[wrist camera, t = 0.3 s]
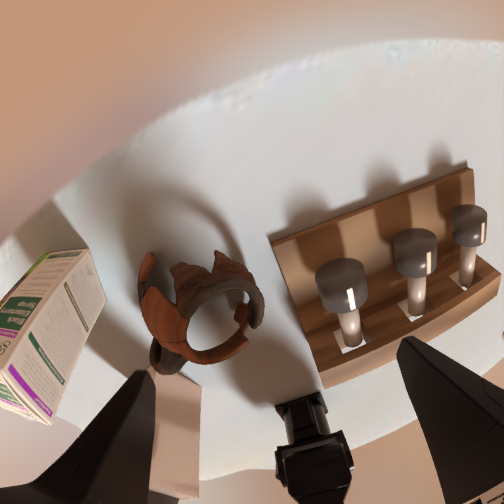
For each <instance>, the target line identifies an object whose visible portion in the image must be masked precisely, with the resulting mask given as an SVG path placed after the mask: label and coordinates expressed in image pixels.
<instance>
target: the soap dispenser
mask: <svg viewBox="0 0 504 504" xmlns="http://www.w3.org/2000/svg"><path fill="white" fill-rule="evenodd" d="M146 370H147V371H148V372H149V373H150V375H151V377H152V379H153V381H154V383H155V386H156V411H155V434H154V442H153V451H152V460H151V471H150V483H149V497H148V504H178V501H179V500H180V499H189V498H198V497H199V442H200V413H201V392H202V387H201V386H199V385H197V384H195V383H194V382H192V381H190V380H189V379H187V378H185V377H184V376H182V375H180V374H179V373H175V374H174V375H160V374H158V373H157V372H156V371H155V370H154V369H153V367H152V366H150V367H149V368H147V369H146Z"/></svg>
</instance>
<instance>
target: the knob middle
mask: <svg viewBox="0 0 504 504" xmlns="http://www.w3.org/2000/svg"><path fill="white" fill-rule="evenodd" d="M393 244H394V253H395V263H396V269H397V271H398V272H399V273H400V274H401V275H403V276H405V277H407V285H408V313H409V314H410V315H412V316H420V315H422V314H423V313H424V311H425V296H426V276H428V275H430V274H431V273H432V272H433V271H434V270H435V269H436V266H437V238H436V235H435V234H434V233H433V232H431V231H430V230H427V229H424V228H410V229H406V230H403V231H401V232H400V233H398V234H397V235H396V236H395V237H394V240H393Z"/></svg>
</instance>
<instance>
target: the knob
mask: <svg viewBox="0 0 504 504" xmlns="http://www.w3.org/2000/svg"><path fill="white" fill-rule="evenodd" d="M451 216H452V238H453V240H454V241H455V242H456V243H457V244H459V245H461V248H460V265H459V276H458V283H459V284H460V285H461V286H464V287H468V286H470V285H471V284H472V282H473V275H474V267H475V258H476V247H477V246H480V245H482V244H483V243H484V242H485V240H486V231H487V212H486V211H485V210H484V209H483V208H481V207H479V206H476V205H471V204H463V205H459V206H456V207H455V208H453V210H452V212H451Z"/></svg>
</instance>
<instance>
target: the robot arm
mask: <svg viewBox="0 0 504 504" xmlns="http://www.w3.org/2000/svg"><path fill="white" fill-rule="evenodd" d="M396 358H397V361H398V364H399V367H400V370H401V374H402V377H403V380H404V383H405V387H406V390H407V392H408V395H409V397H410V400H411V402H412V405H413V407H414V410H415V412H416V415H417V417H418V420H419V422H420V425H421V428H422V430H423V433H424V436H425V438H426V441H427V444H428V447H429V449H430V453H431V456H432V459H433V462H434V465H435V468H436V471H437V475H438V478H439V481H440V485H441V488H442V492H443V496H444V499H445V503H446V504H463V503H465V502H467V501H469V500H471V499H473V498H475V497H477V496H479V497H478V498H477V499H475V500H474V501H473V502H471V503H470V504H504V389H502V388H500V387H498V386H496V385H494V384H492V383H491V382H489V381H487V380H486V379H484V378H482V377H481V376H479V375H477V374H476V373H474V372H472V371H471V370H469V369H468V368H466V367H464V366H463V365H461V364H459V363H458V362H456V361H454V360H453V359H451V358H449V357H448V356H446V355H444V354H443V353H441V352H439V351H438V350H436V349H434V348H433V347H431V346H429V345H428V344H426V343H424V342H423V341H421V340H419V339H418V338H416V337H414V336H407V337H404V338H403V339H402V340H401V342H400V345H399V348H398V350H397V353H396ZM275 409H276V411H277V413H278V414H279V415H280V417H281V418H282V419H283V421H284V422H285V427H286V432H287V438H288V443H289V445H285V446H277V450H276V451H275V458H276V479H278V480H280V481H281V483H282V485H283V487H288V493H289V494H290V495H291V497H292V498H293V499H294V500H295V501H296V502H297V503H298V504H344V501H345V499H346V496H347V494H348V491H349V488H350V485H351V479H352V475H351V472H350V471H352V470H354V463H353V459H352V456H351V452H350V449H349V447H348V444H347V442H346V439H345V436H344V434H343V431H342V430H340V431H338V432H335V433H332V434H331V432H330V429H329V425H328V422H327V419H326V415H325V414H326V413H328V410H327V407H326V405H325V402H324V399H323V397H322V394H321V393H316V394H313V395H310V396H307V397H304V398H301V399H298V400H294V401H291V402H288V403H284V404H281V405H278V406H276V407H275ZM155 411H156V386H155V383H154V381H153V379H152V377H151V375H150V373H149V372H148V371H147V370H136V371H135V372H134V373H133V374H132V375H131V376H130V377H129V378H128V380H127V381H126V382H125V383H124V384H123V385H122V387H121V388H120V389H119V390H118V391H117V392H116V393H115V395H114V396H113V397H112V398H111V399H110V400H109V402H108V403H107V404H106V405H105V406H104V407H103V409H102V410H101V411H100V412H99V413H98V414H97V416H96V417H95V418H94V419H93V420H92V421H91V423H90V424H89V425H88V426H87V427H86V428H85V430H84V431H83V432H82V433H81V434H80V436H79V437H78V438H77V439H76V440H75V441H74V442H73V444H72V445H71V446H70V447H69V448H68V449H67V450H66V451H65V452H64V453H63V454H62V456H61V457H60V458H58V459H57V460H56V461H55V462H54V463H53V464H52V465H51V466H50V467H49V468H48V469H47V470H46V471H44V472H43V473H42V474H41V475H40V476H39V477H38V478H37V479H35V480H34V481H32V482H30V483H27V484H23V485H18V486H11V487H4V488H0V504H148V497H149V483H150V471H151V460H152V451H153V442H154V434H155Z"/></svg>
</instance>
